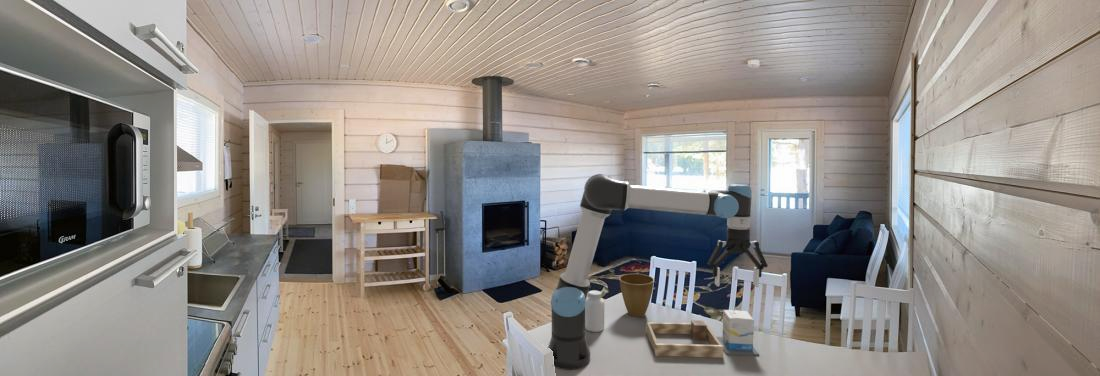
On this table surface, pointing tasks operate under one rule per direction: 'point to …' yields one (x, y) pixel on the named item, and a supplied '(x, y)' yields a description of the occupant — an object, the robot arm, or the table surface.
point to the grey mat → (736, 352)
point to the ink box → (738, 330)
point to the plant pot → (636, 293)
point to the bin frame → (682, 349)
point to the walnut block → (698, 330)
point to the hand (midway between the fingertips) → (736, 285)
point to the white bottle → (594, 312)
